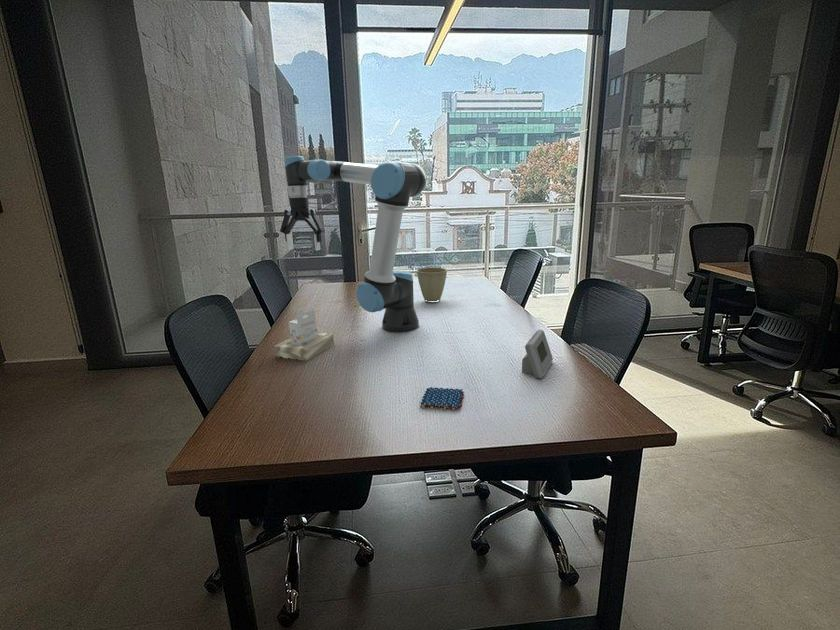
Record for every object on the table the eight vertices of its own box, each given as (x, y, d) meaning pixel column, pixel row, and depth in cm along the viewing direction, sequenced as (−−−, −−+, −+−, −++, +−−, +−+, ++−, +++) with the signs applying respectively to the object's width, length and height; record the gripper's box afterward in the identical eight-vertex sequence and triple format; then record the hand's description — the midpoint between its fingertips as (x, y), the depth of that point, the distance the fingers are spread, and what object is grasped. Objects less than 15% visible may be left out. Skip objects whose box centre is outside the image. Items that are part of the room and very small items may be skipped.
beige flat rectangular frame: (334, 344, 161) (333, 334, 160) (307, 360, 146) (305, 349, 145) (304, 341, 165) (303, 331, 164) (275, 356, 150) (274, 346, 149)
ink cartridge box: (309, 345, 160) (305, 307, 156) (319, 347, 158) (315, 309, 154) (291, 352, 154) (286, 313, 149) (301, 355, 151) (296, 314, 147)
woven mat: (460, 413, 109) (460, 406, 109) (419, 410, 111) (419, 403, 111) (465, 394, 119) (464, 387, 118) (427, 392, 121) (426, 385, 121)
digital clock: (540, 381, 124) (542, 347, 121) (511, 374, 130) (512, 341, 127) (562, 363, 136) (563, 331, 133) (535, 357, 142) (536, 326, 139)
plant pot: (437, 306, 208) (436, 273, 203) (412, 302, 216) (410, 271, 211) (452, 299, 220) (452, 268, 215) (428, 296, 228) (427, 266, 223)
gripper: (267, 198, 175) (273, 250, 181) (319, 196, 166) (324, 251, 172) (279, 197, 182) (285, 248, 188) (330, 195, 173) (334, 249, 179)
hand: (304, 249), depth 180 cm, fingers open, 13 cm apart
